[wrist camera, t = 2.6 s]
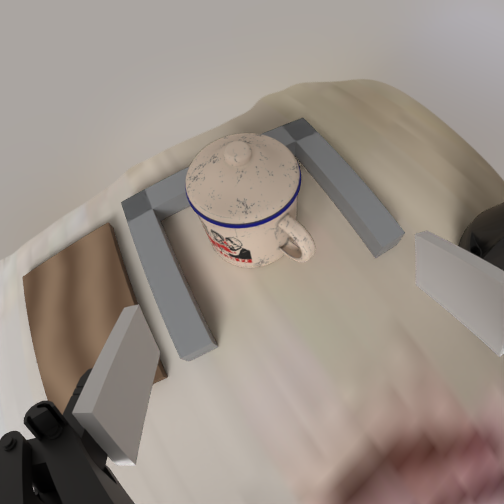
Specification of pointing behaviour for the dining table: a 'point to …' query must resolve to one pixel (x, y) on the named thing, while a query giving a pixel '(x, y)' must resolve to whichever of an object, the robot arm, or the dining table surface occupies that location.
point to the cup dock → (174, 200)
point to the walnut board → (76, 310)
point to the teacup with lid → (249, 200)
